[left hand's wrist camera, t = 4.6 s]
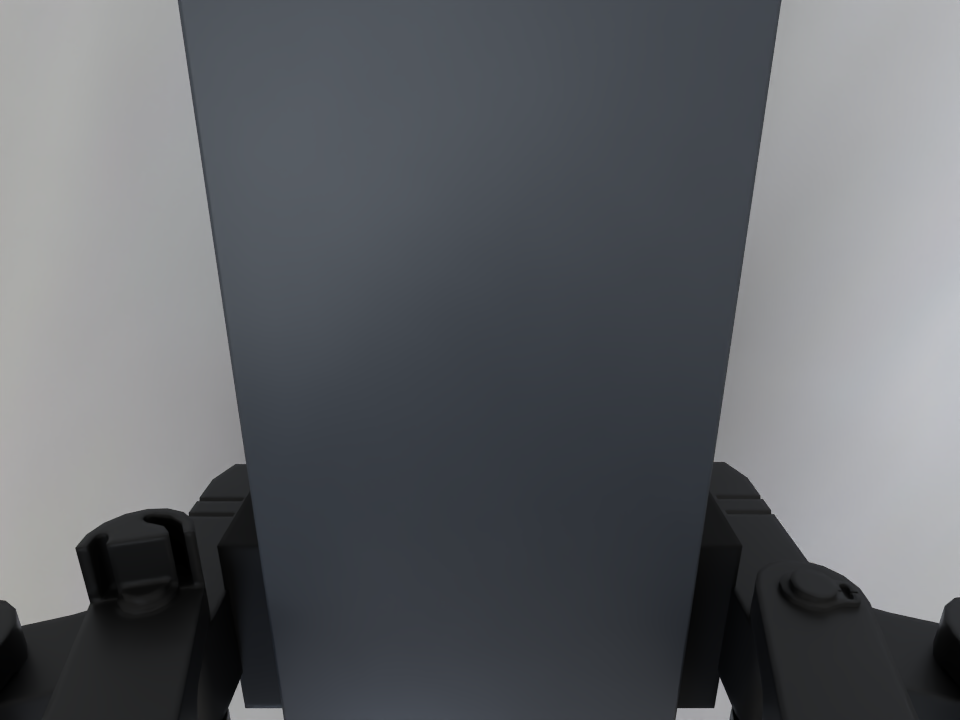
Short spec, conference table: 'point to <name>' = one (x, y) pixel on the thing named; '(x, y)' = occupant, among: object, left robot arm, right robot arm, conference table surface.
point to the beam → (479, 334)
